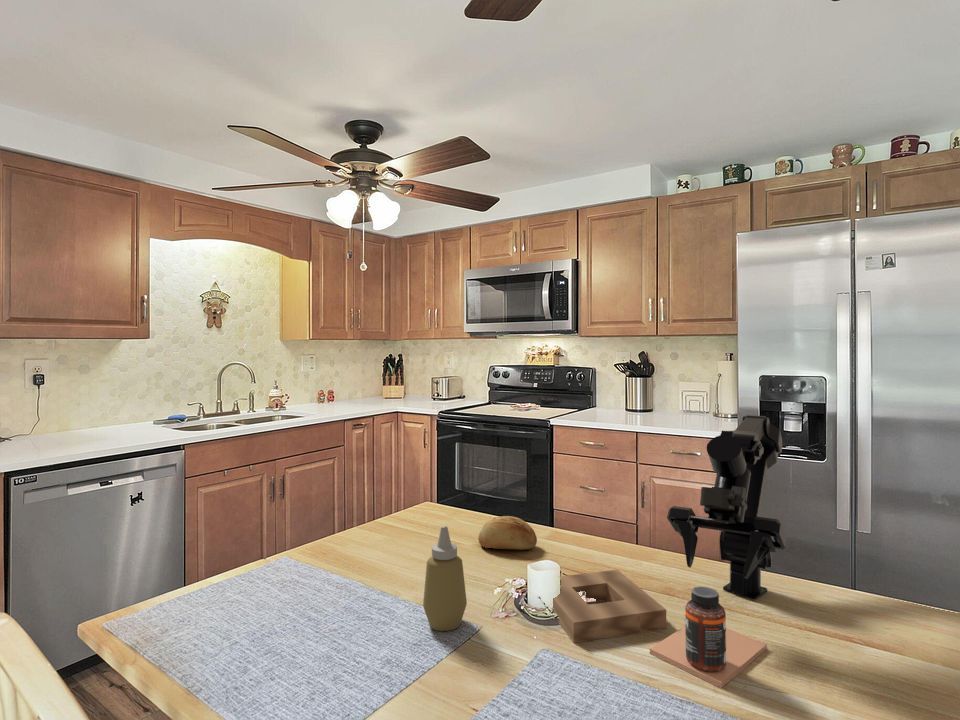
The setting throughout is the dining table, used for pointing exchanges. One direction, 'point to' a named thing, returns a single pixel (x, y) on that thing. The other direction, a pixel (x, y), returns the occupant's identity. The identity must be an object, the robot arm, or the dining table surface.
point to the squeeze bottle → (444, 585)
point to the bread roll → (507, 534)
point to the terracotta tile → (737, 655)
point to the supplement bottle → (705, 630)
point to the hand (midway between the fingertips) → (716, 571)
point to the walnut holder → (606, 607)
